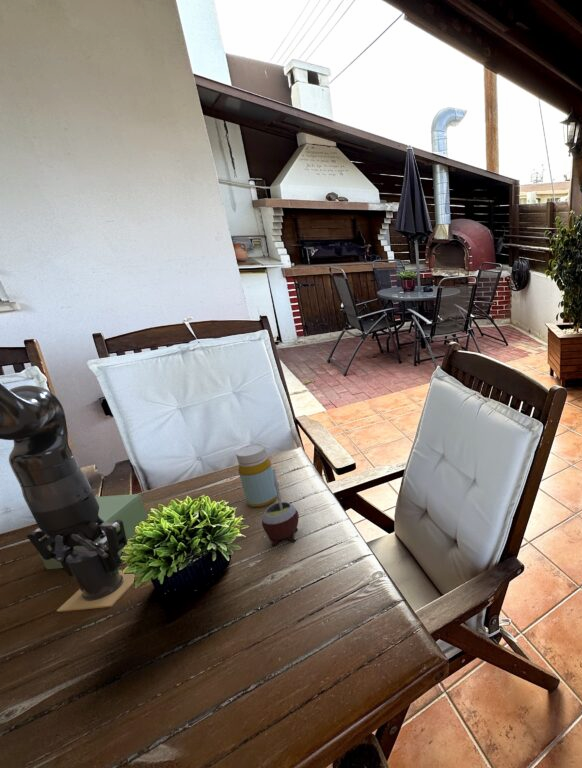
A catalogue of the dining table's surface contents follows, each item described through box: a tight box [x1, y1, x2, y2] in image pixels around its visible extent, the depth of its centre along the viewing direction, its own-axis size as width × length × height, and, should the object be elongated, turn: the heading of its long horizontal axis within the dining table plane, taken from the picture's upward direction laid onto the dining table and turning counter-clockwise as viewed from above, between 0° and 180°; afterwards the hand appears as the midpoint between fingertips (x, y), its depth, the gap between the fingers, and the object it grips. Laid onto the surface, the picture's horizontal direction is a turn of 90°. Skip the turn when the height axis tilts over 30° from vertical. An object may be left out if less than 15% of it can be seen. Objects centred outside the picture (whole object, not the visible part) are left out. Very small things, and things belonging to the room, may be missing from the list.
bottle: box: [235, 443, 278, 508], centre depth 101 cm, size 7×7×15 cm
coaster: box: [56, 569, 135, 613], centre depth 78 cm, size 9×9×1 cm
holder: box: [66, 542, 124, 601], centre depth 76 cm, size 6×6×9 cm
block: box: [36, 493, 149, 570], centre depth 87 cm, size 12×12×9 cm
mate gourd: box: [261, 468, 300, 548], centre depth 89 cm, size 8×8×15 cm
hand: (95, 570), depth 76 cm, fingers open, 6 cm apart
